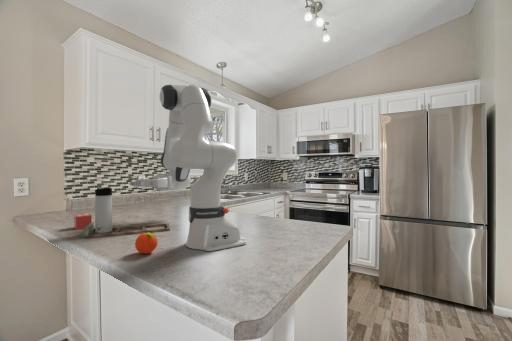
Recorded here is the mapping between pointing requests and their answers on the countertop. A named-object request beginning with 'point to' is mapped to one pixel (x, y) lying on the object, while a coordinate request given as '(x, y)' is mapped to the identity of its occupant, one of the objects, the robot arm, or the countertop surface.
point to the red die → (81, 221)
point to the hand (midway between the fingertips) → (135, 183)
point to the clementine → (146, 242)
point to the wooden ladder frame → (90, 229)
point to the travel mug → (103, 211)
